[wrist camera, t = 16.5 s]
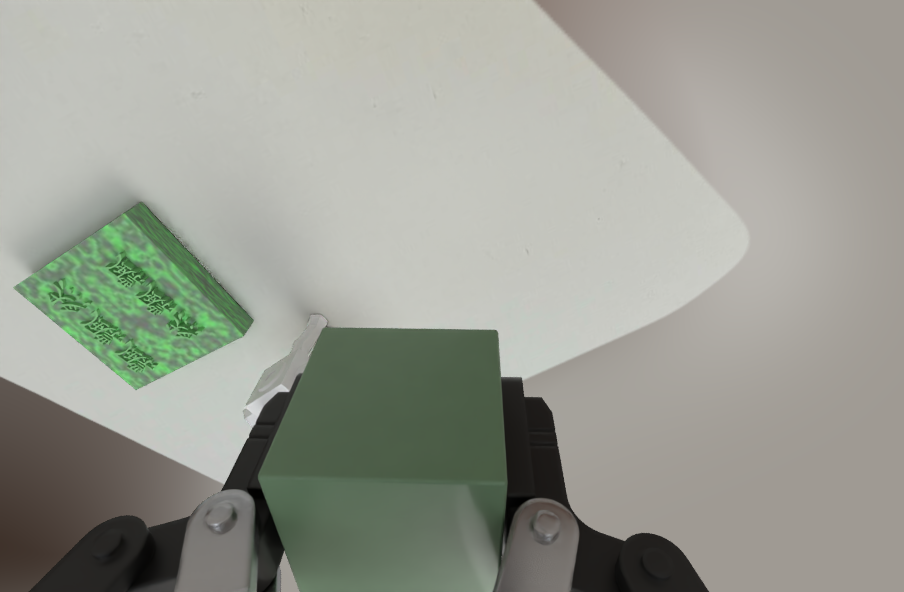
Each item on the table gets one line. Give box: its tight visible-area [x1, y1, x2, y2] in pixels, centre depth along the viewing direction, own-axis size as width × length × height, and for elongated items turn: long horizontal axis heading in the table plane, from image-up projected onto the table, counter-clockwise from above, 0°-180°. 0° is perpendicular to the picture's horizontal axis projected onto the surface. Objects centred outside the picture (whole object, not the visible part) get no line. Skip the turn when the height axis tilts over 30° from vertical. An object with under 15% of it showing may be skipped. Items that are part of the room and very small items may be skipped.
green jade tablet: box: [13, 202, 253, 390], centre depth 36 cm, size 11×12×2 cm
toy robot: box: [243, 314, 328, 439], centre depth 33 cm, size 4×8×12 cm, turn 127°
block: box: [258, 327, 508, 592], centre depth 12 cm, size 4×4×4 cm
